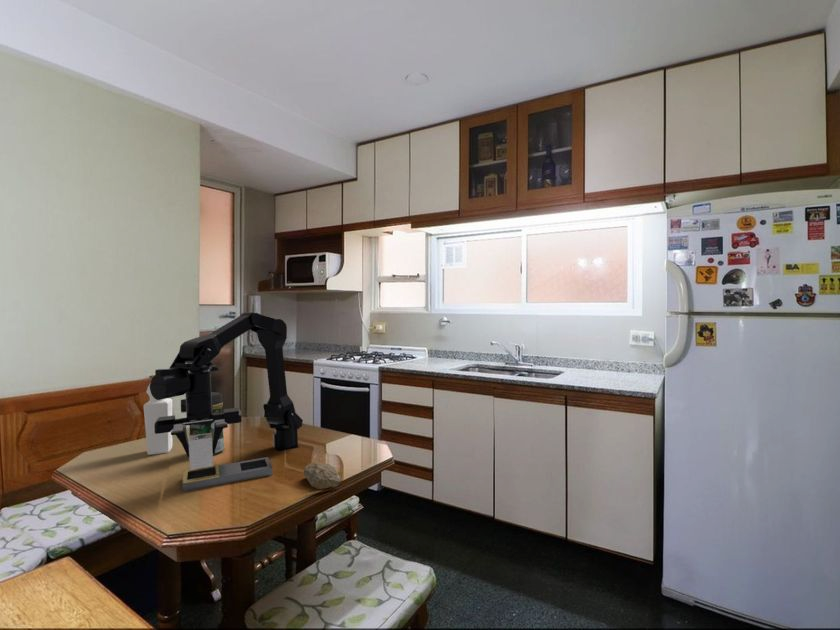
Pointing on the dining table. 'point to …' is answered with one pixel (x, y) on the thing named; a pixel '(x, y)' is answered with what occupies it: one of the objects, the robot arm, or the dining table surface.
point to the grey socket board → (226, 473)
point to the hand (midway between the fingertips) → (201, 454)
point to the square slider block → (200, 451)
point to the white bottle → (151, 414)
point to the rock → (321, 475)
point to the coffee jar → (211, 423)
